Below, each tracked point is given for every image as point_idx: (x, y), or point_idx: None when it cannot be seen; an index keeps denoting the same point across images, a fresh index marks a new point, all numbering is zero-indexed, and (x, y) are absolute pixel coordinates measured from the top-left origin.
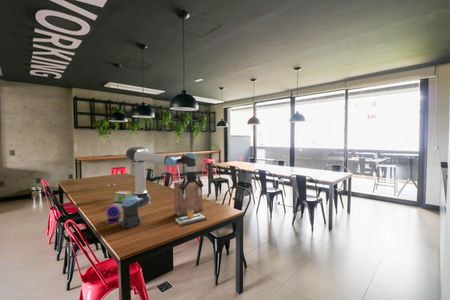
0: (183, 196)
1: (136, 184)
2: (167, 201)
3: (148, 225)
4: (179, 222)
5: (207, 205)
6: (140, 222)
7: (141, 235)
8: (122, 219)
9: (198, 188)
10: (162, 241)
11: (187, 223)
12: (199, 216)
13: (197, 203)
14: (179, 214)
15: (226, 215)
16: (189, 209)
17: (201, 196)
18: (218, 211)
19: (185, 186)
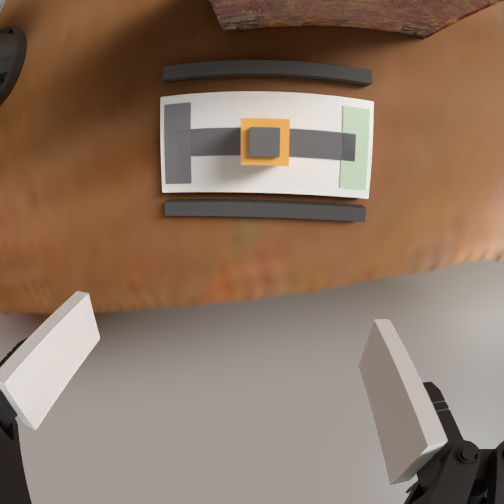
0: (68, 303)
1: None
2: None
3: (35, 104)
4: (162, 175)
5: None
6: (13, 74)
7: (10, 210)
8: (1, 6)
9: (416, 425)
10: None
11: (208, 215)
12: (339, 164)
13: (415, 9)
14: (221, 27)
15: (479, 234)
16: (261, 129)
17: (483, 4)
18: (489, 142)
19: (11, 486)
